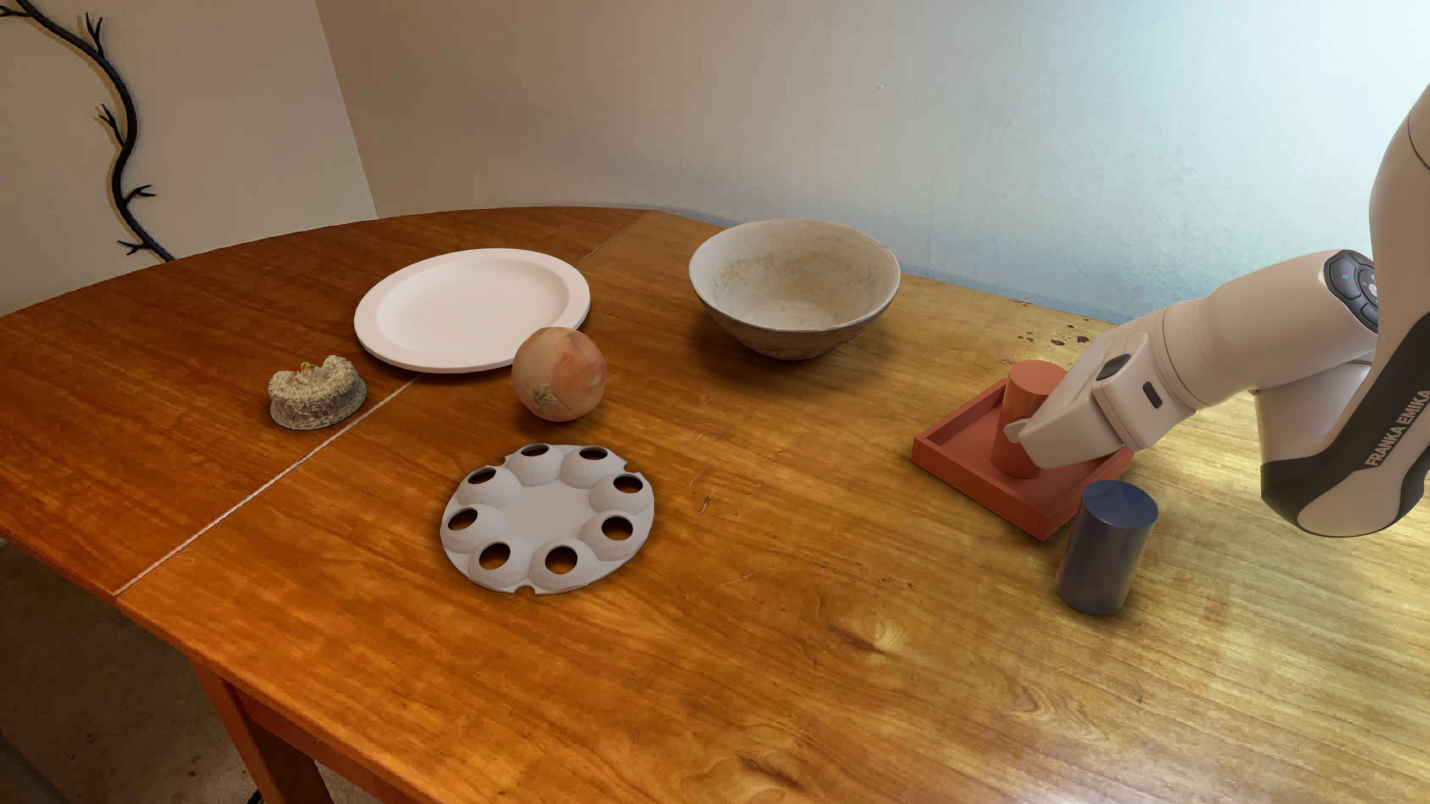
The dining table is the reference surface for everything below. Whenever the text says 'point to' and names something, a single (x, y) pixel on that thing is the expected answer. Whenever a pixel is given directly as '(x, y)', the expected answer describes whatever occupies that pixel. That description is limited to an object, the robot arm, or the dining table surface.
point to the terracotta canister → (1023, 413)
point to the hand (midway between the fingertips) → (1024, 414)
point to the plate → (468, 309)
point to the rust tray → (1030, 504)
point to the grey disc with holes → (547, 518)
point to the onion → (559, 374)
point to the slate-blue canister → (1105, 546)
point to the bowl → (794, 284)
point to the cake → (316, 394)
